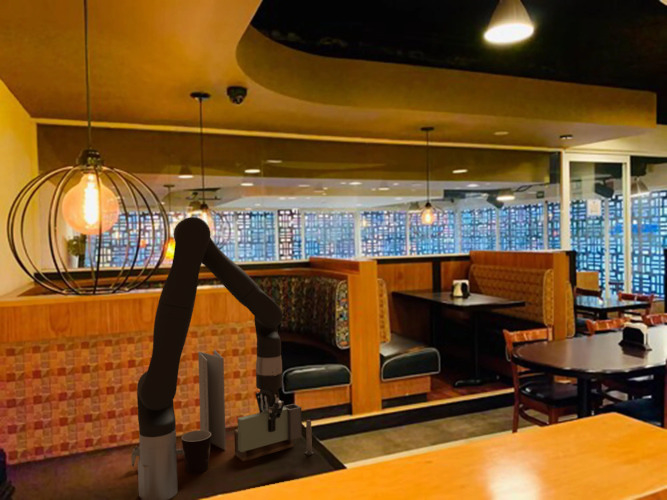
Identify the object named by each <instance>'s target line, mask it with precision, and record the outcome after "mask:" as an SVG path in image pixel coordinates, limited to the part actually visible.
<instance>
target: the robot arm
mask: <svg viewBox="0 0 667 500" xmlns="http://www.w3.org/2000/svg"><path fill="white" fill-rule="evenodd" d="M173 239H174V241H175V242H174V243H175V244H174V252H173V256H172V257H173V258H172V262H171V267H170V270H169V271H168V272H169V273H168V274H167V277H166V280H165V282H164V284H163V287H162V289H161V292H160V295H159V298H158V302H157V307H156V312H155V315H154V322H153V323H154V324H153V332H152V333H153V334H152V338H153V339H152V352H151V358H150V362H149V366H148V369H147V371H145V372H144V373H143V374H142V375H141V376H140V378H139V380H138V382H137V385H136V386H137V387H136V393H137V394H136V397H137V398H136V401H137V417H138V418H137V419H138V421H137V422H138V429H139V431H138V432H139V446H140V456H139V457H140V460H139V459H138V460H137V476H138V477H137V478H138V496H139V498H140V499H141V500H171V499H172V498H174V497H175V496H176V495H177V493H178V466H177V465H178V464H177V463H178V462H177V461H178V460H177V456H178V455H176V449H177V429H176V427H177V423H176V421H177V420H176V415H175V405H174V399H175V397H176V395H177V386H178V378H179V371H180V362H181V356H182V353H183V350H184V347H185V344H186V340H187V336H188V333H189V328H190V325H191V321H192V317H193V313H194V308H195V304H196V297H197V291H198V283H199V275H200V271H201V267H202V265H203V266H205V268H206V269H207V270H208V271H210V272H211V273H212V274H213V276H214V277H215V278H216V279H217V280H218V281H219V282H220V283H221V284H222V285H223V286H224V288H225V289H226V290H227V291H228V292H229V293H230V294H231V295H232V297H234V299H236V300H237V302H239V303H240V304H241V305H242V306H243V307H245V308H247V309H248V311H249V312H251V314H252V315H253V316H254V318H253V320H254V328H255V335H256V361H255V386H256V388H257V389H258V390H259V391H257V392H255V398H256V403H257V406H258V409H259V410H258V412H259V411H260V413H262V412H266V411H267V413H268V432H274V431H275V430H276V421H275V420H276V418H280V415H281V412H282V409H283V406H285V402H284V400H280V394H279V389H280V388H282V387H283V360H282V340H281V337H280V335H279V330H278V326H279V325H281V323H282V321H283V319H284V314H283V310H282V308H281V306H280V305H278V304H277V302H276V301H274V299H273V298H271V297H270V296H269V295H268V294H267V293H265V292H264V291H263V290H262V289H261V287H260V286H259V285H258V284H257V283H256V282H255V281H254V280H253V279H252V278H251V276H249V275H248V274H247V272H246V271H244V270H243V269H242V268H241V267H240V266H239V265H237V263H235V262H234V261H233V260H232V259H231V258H229V257H228V255H226V254H225V253H224V252H223V251H222V250H221V249H220V248H219V247H218V246H217V245H216V243H215V242H214V240H213V239H212V238H211V229H210V226H209V224H208V223H207V222H206V221H205V220H204V219H202V218H200V217H197V216H191V217H186V218H184V219H182V220H181V221H179V222H178V223H177V224H176V225H175V228H174V229H173ZM271 411H272V413H271Z"/></svg>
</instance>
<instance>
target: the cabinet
mask: <svg viewBox="0 0 667 500" xmlns="http://www.w3.org/2000/svg"><path fill="white" fill-rule="evenodd" d="M305 424H306V425H305V426H306V427H305V431H306V432H305V433H306V434H305V435H306V437H305V438H306V451H305V452H304V455H307V456H308V457H310V456H312V455H315V451H314V452H313V447H312V446H313V442H312V441H313V440H312V439H313V438H312V436H313V435H312V420H310V419H307V420H306V421H305ZM233 432H234V434H233V435H234V456H236V457H237V458H238V459H239V460H241V461H242V462H246V461H250V460H253V459H255V458H260V457H262V456H267V455H269V454H272V453H277V452H280V451H284V450H287V449H290V448H293V447H294V439H293V440H288V439H287V440H284V441H280V442H276V443H273V444H269V445H266V446H262V447H258V448H255V449H251V450H248V451H244V452H240V451H239V450H238V428H236V429H234V431H233Z"/></svg>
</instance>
